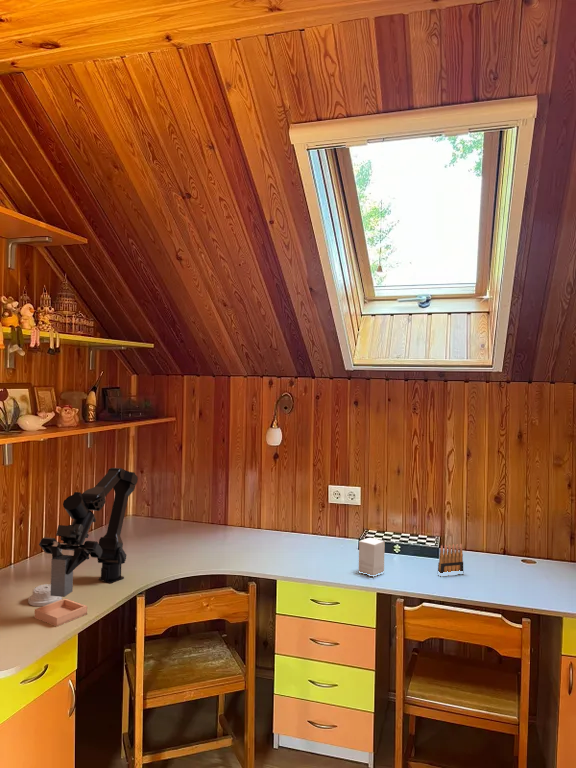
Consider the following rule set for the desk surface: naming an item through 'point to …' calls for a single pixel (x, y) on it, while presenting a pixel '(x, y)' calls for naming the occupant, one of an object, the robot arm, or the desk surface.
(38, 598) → the mechanical component
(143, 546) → the desk surface
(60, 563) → the graphite square block
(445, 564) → the ammunition clip
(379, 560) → the supplement box
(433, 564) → the desk surface
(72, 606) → the terracotta bin
